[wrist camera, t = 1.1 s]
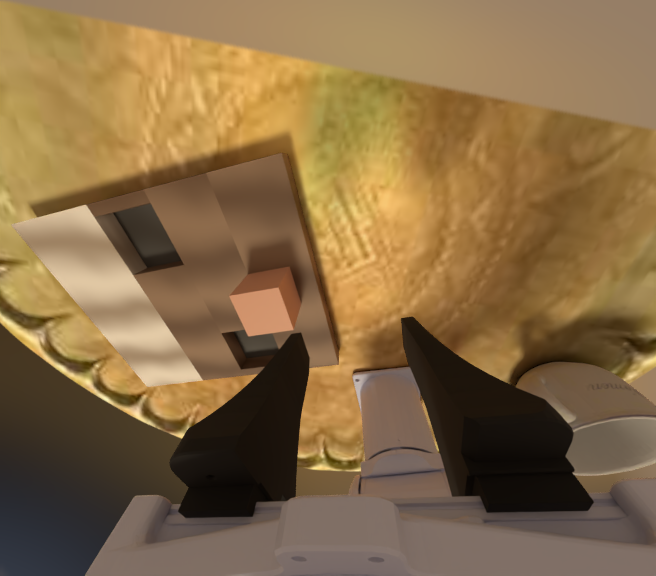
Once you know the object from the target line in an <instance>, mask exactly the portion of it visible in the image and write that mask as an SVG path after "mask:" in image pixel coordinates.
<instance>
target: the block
mask: <svg viewBox="0 0 656 576" xmlns="http://www.w3.org/2000/svg"><path fill="white" fill-rule="evenodd" d="M229 297H230V299H231V301H232V303H233V305H234V308H235V310H236V312H237V314H238V316H239V318H240V320H241V322H242V324H243V326H244V328H245V331H246V333H247V335H248V336H255V335H262V334H269V333H276V332H283V331H290V330H294V327H295V324H296V320H297V317H298V314H299V310H300V307H301V301H300V298H299V295H298V292H297V289H296V285H295V282H294V279H293V276H292V273H291V270H290V267H284V268H278V269H273V270H268V271H262V272H257V273H252V274H248V275H247V276H246V277H245V278H244V279H243V280H242V282H241V283H240V284H239V285H238V286H237V287H236V289H235V290H234V291H233V292H232V293H231V294H230V295H229Z"/></svg>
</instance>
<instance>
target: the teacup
mask: <svg viewBox="0 0 656 576" xmlns="http://www.w3.org/2000/svg"><path fill="white" fill-rule="evenodd" d="M515 387H516V388H519V389H521V390H524V391H526V392H528V393H531V394H533V395H536V396H538V397H541V398H543V399H545V400H546V401H547V402H548V403H549V404H550V405H551V406H552V407H553V408H554V409H556V410H557V412H558V413H559V414H560V415H561V416H562V417H563V418H564V419H565V421H566V422H567V423H568V424H569V425H570V426H571V427H572V430H573V432H574V435H573V440H572V443H571V445H570V447H569V449H568V452H567V454H566V458H567V459H568V460H569V462H570V463H571V464H572V465H573V467H574V469H575V471H574V472H572V473H573V474H574V475H585V476H587V475H588V476H589V475H605V474H611V473H619V472H624V471H631V470H636V469H638V468H641V467H644V466H648V465H651V464H654V463H656V406H655V405H654V404H653V403H652V402H650V401H649V400H648V399H647V398H646V397H644V396H643V395H642V394H641V393H639V392H638V391H637V390H636V389H634V388H633V387H632V386H630V385H629V384H628V383H626V382H625V381H624V380H622V379H621V378H619V377H618V376H616V375H615V374H613V373H611V372H610V371H607V370H605V369H603V368H601V367H598V366H594V365H590V364H585V363H571V362H551V363H546V364H543V365H540V366H537V367H535V368H533V369H531V370H529V371H528V372H526V373H525V374H524V375H523V376H522V377H521V378H520V379H519V381H518V382H517V385H516V386H515Z"/></svg>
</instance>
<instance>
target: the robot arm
mask: <svg viewBox="0 0 656 576" xmlns="http://www.w3.org/2000/svg"><path fill="white" fill-rule="evenodd" d="M401 323H402V335H403V346H404V350H405V353H406V357H407V360H408V364H409V366H410V367H402V368H393V369H384V370H375V371H366V372H357V373H354V374H353V381H354V385H355V389H356V393H357V398H358V402H359V406H360V410H361V414H362V427H363V440H364V452H365V461H363V462H361V475H356V476H355V477H354V480H353V482H352V484H351V486H350V490H349V495H320V496H300V497H295V496H296V472H297V454H298V441H299V429H300V419H301V412H302V407H303V402H304V397H305V392H306V386H307V381H308V376H309V363H310V357H309V354H308V351H307V348H306V345H305V342H304V339H303V337H302V334H301V332H300V333H293V334H291V335H290V336H289V337H288V339H287V340H286V341H285V343H284V344H283V345H282V346H281V348H280V349H279V350H278V352H277V353H276V354H275V355H274V357H273V358H272V359H271V360H270V361H269V363H268V364H267V365H266V366H265V367H264V368H263V370H262V371H261V372H260V373H259V374H258V375H257V376H256V377H255V378H254V379H253V380H252V381H251V382H250V383H249V384H248V385H247V386H246V387H245V388H243V389H242V390H241V391H240V392H239V393H238V394H236V395H235V396H234V397H233V398H232V399H231V400H229V401H228V402H227V403H225V404H224V405H223V406H222V407H220V408H219V409H217V410H216V411H215V412H213V413H212V414H210V415H209V416H207V417H206V418H204V419H203V420H201V421H200V422H198V423H197V424H195V425H194V426H192V427H190V428H189V429H188V430H187V431H186V433H185V435H184V437H183V438H182V440H181V442H180V444H179V445H178V447H177V449H176V450H175V452H174V454H173V456H172V457H171V459H170V467H171V470H172V471H173V472H174V473H175V475H177V476H178V477H179V478H180V479H181V480H182V481H183V482H184V483H185V484H186V485H187V486H188V487H189V488H188V491H187V493H186V495H185V497H184V499H183V501H182V503H181V504H171V502H170V501H169V500H168V499H167V498H165V497H163V496H160V495H145V496H136V497H134V498H133V500H132V501H131V503H130V504H129V506H128V508H127V509H126V511H125V512H124V514H123V515H122V517H121V519H120V520H119V522H118V523H117V525H116V527H115V528H114V530H113V531H112V533H111V535H110V536H109V538H108V539H107V541H106V543H105V544H104V546H103V547H102V549H101V551H100V552H99V554H98V556H97V557H96V558H95V560H94V562H93V564H92V565H91V566H90V568H89V570H88V571H87V573H86V574H85V576H656V478H635V479H623V480H620V481H617V482H615V483H614V484H613V485H612V486H611V488H610V492H606V493H587V492H586V490H585V489H584V488H583V486H582V485H581V484H580V482H579V481H578V480H577V478H576V477H575V475H574V474H573V473H572V472H574V471H575V469H574V467H573V465H572V464H571V463H570V462H569V460H568V459H567V458H566V454H567V452H568V449H569V447H570V445H571V443H572V440H573V435H574V432H573V430H572V427H571V426H570V425H569V424H568V423H567V422H566V421H565V419H564V418H563V417H562V416H561V415H560V414H559V413H558V412H557V410H556V409H554V408H553V407H552V406H551V405H550V404H549V403H548V402H547V401H546V400H545V399H543V398H541V397H538V396H536V395H533V394H531V393H528V392H526V391H524V390H521V389H519V388H516V387H514V386H512V385H510V384H508V383H506V382H503V381H501V380H499V379H497V378H495V377H493V376H491V375H489V374H488V373H486V372H484V371H482V370H480V369H479V368H477V367H475V366H473V365H472V364H470V363H468V362H467V361H465V360H464V359H462V358H461V357H459V356H458V355H456V354H455V353H454V352H452V351H451V350H450V349H448V348H447V347H446V346H444V345H443V344H442V343H441V342H439V341H438V340H437V339H436V338H435V337H434V336H433V335H431V334H430V333H429V332H428V331H427V330H426V329H425V328H424V327H423V326H422V325H421V324H420V323H419V322H418V321H417V320H416V319H415V318H414V317H407V318H401ZM420 393H421V395H422V398H423V400H424V403H425V406H426V408H427V412H428V415H429V418H430V421H431V425H432V428H433V431H434V435H435V438H436V441H437V445H438V448H439V452H440V453H438V452H437V449H436V446H435V443H434V440H433V437H432V434H431V431H430V428H429V425H428V422H427V419H426V416H425V413H424V410H423V407H422V404H421V401H420Z"/></svg>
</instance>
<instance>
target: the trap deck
mask: <svg viewBox="0 0 656 576" xmlns="http://www.w3.org/2000/svg"><path fill="white" fill-rule="evenodd" d="M11 225H12V227H13V228H14V229H15V230H16V231H17V233H18V234H19V235H20V236H21V237H22V238H23V240H24V241H25V242H26V243H27V244H28V246H29V247H30V248H31V249H32V250H33V252H34V253H35V254H36V255H37V256H38V258H39V259H40V260H41V261H42V262H43V263H44V265H45V266H46V267H47V268H48V269H49V271H50V272H51V273H52V274H53V275H54V277H55V278H56V279H57V280H58V281H59V282H60V284H61V285H62V286H63V287H64V288H65V290H66V291H67V292H68V293H69V294H70V296H71V297H72V298H73V299H74V300H75V301H76V303H77V304H78V305H79V306H80V307H81V309H82V310H83V311H84V312H85V313H86V315H87V316H88V317H89V318H90V319H91V321H92V322H93V323H94V324H95V325H96V326H97V328H98V329H99V330H100V331H101V332H102V334H103V335H104V336H105V337H106V338H107V340H108V341H109V342H110V343H111V344H112V345H113V347H114V348H115V349H116V350H117V351H118V353H119V354H120V355H121V356H122V357H123V359H124V360H125V361H126V362H127V363H128V364H129V366H130V367H131V368H132V369H133V370H134V372H135V373H136V374H137V375H138V376H139V378H140V379H141V380H142V381H143V382H144V384H145V385H146V386H147V387H150V386H159V385H167V384H176V383H184V382H193V381H202V380H210V379H219V378H227V377H236V376H244V375H253V374H259V373H260V372H261V371H262V370H263V368H264V367H265V366H266V365H267V364H268V363H269V361H270V360H271V359H272V358H273V357H274V355H275V354H276V353H277V352H278V350H279V349H280V348H281V346H282V345H283V344H284V343H285V341H286V340H287V339H288V337H289V336H290V335H291V334H293V333H300V332H301V334H302V337H303V339H304V342H305V345H306V348H307V351H308V354H309V357H310V363H309V368H313V367H322V366H330V365H339V351H338V347H337V343H336V339H335V335H334V331H333V327H332V324H331V320H330V316H329V312H328V308H327V304H326V300H325V297H324V293H323V289H322V285H321V281H320V277H319V273H318V270H317V266H316V262H315V258H314V254H313V250H312V246H311V243H310V239H309V235H308V231H307V227H306V223H305V219H304V216H303V212H302V208H301V204H300V200H299V196H298V193H297V189H296V185H295V181H294V177H293V173H292V169H291V166H290V162H289V158H288V154H285V153H279V154H275V155H272V156H268V157H264V158H260V159H256V160H253V161H249V162H245V163H241V164H238V165H234V166H230V167H226V168H222V169H219V170H215V171H211V172H207V173H204V174H200V175H196V176H192V177H189V178H185V179H181V180H177V181H173V182H170V183H166V184H162V185H158V186H155V187H151V188H147V189H143V190H140V191H136V192H132V193H128V194H124V195H121V196H117V197H113V198H109V199H106V200H102V201H98V202H94V203H90V204H87V205H83V206H79V207H75V208H72V209H68V210H64V211H60V212H57V213H53V214H49V215H45V216H41V217H38V218H34V219H30V220H26V221H23V222H19V223H15V224H11ZM284 267H290V270H291V273H292V276H293V279H294V282H295V285H296V289H297V292H298V295H299V298H300V301H301V307H300V310H299V314H298V317H297V320H296V324H295V327H294V330H290V331H283V332H276V333H269V334H262V335H255V336H248V335H247V333H246V331H245V328H244V326H243V324H242V322H241V320H240V318H239V316H238V314H237V312H236V310H235V308H234V305H233V303H232V301H231V299H230V297H229V295H230V294H231V293H232V292H233V291H234V290H235V289H236V287H237V286H238V285H239V284H240V283H241V282H242V280H243V279H244V278H245V277H246V276H247V275H248V274H252V273H257V272H262V271H268V270H273V269H278V268H284Z"/></svg>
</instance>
